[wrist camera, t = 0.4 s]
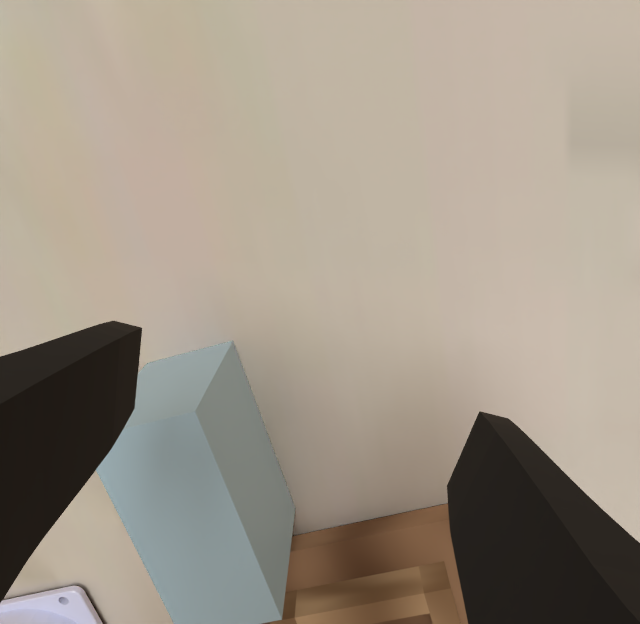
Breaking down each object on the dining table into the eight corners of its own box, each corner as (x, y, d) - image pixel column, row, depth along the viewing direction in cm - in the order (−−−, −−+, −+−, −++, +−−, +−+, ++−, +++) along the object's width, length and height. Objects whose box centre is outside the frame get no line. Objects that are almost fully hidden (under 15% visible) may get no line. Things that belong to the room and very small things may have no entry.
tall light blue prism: (218, 523, 25) (181, 638, 19) (147, 362, 22) (80, 439, 16) (295, 507, 24) (281, 619, 18) (233, 339, 21) (194, 411, 16)
